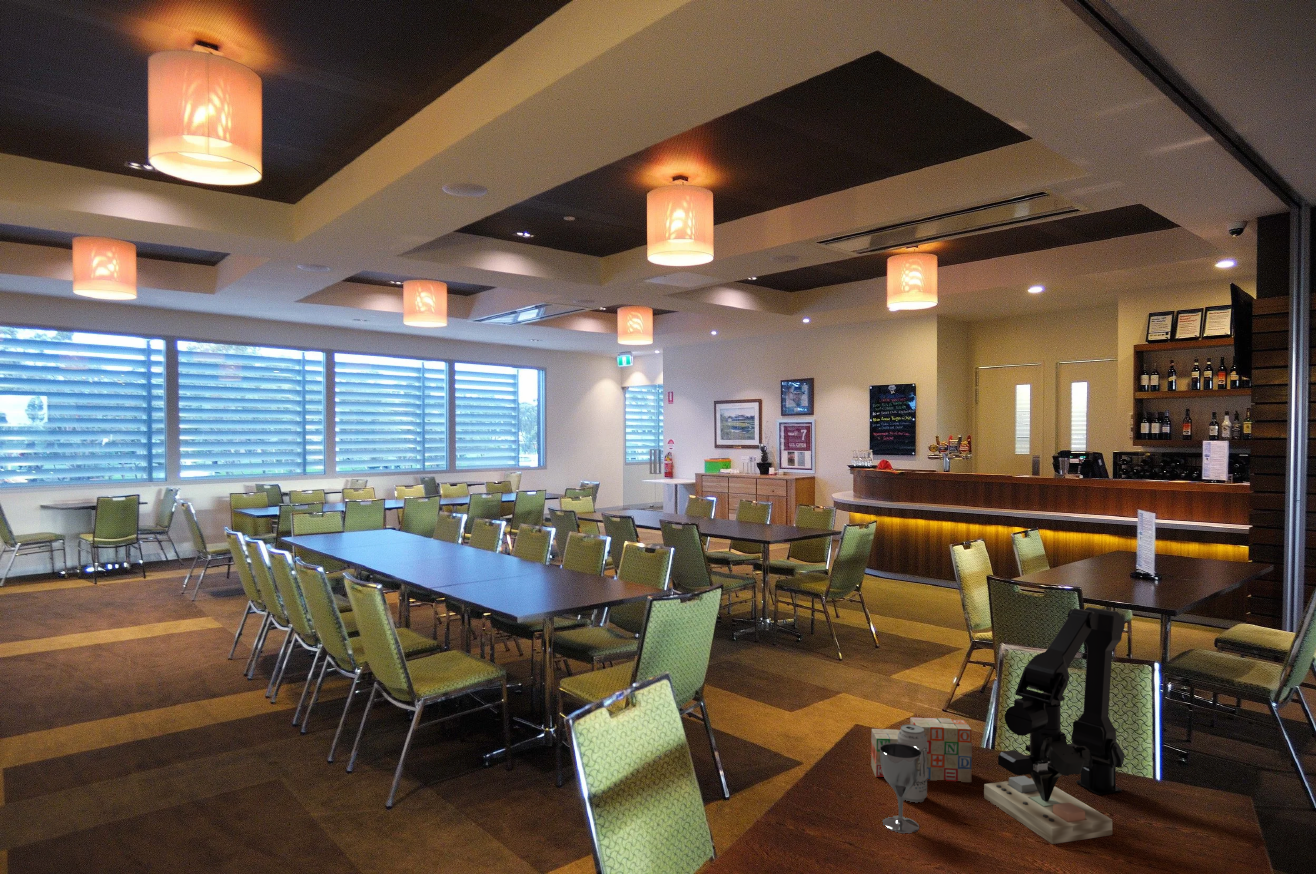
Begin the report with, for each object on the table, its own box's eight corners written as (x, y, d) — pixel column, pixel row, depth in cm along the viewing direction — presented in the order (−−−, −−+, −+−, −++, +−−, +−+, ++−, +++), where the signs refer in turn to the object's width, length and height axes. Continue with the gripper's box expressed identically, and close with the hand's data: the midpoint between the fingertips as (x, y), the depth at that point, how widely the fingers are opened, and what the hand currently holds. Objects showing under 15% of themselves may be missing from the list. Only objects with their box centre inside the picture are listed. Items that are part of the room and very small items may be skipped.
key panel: (1038, 790, 173) (1038, 776, 173) (1112, 835, 154) (1112, 818, 154) (984, 798, 170) (984, 783, 170) (1052, 844, 150) (1052, 827, 150)
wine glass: (882, 832, 155) (882, 756, 155) (877, 813, 163) (878, 741, 163) (924, 836, 153) (924, 759, 153) (917, 816, 161) (917, 743, 161)
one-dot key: (1046, 804, 164) (1046, 795, 164) (1060, 812, 160) (1060, 803, 160) (1030, 806, 163) (1029, 797, 163) (1043, 815, 159) (1043, 805, 159)
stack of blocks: (875, 778, 180) (875, 725, 180) (871, 767, 186) (870, 715, 186) (972, 782, 178) (972, 728, 178) (964, 771, 184) (964, 718, 184)
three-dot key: (1024, 784, 171) (1024, 775, 171) (1037, 792, 167) (1037, 783, 167) (1008, 786, 170) (1008, 777, 170) (1021, 794, 166) (1021, 785, 166)
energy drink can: (916, 806, 166) (916, 735, 166) (892, 796, 170) (892, 727, 171) (932, 798, 169) (932, 729, 169) (908, 789, 174) (908, 721, 174)
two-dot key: (1069, 811, 158) (1069, 802, 158) (1085, 821, 154) (1085, 811, 154) (1053, 814, 157) (1053, 804, 157) (1068, 823, 153) (1068, 813, 153)
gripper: (1034, 743, 152) (1034, 824, 152) (1114, 734, 156) (1114, 813, 156) (996, 723, 163) (996, 798, 163) (1071, 715, 167) (1071, 789, 167)
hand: (1045, 800), depth 162 cm, fingers closed, pressing on one-dot key
